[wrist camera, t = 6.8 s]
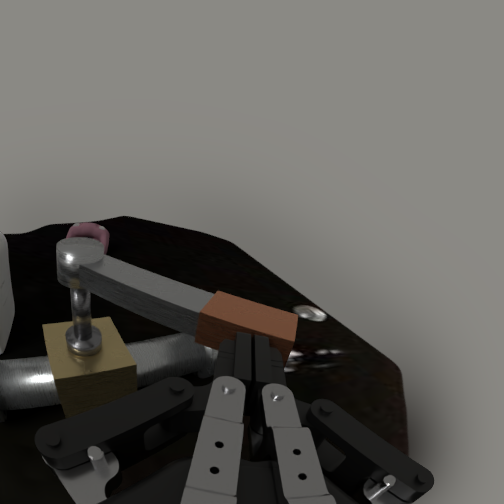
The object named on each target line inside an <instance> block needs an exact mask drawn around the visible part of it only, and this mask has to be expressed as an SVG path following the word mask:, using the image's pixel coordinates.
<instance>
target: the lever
mask: <svg viewBox="0 0 504 504" xmlns="http://www.w3.org/2000/svg"><path fill="white" fill-rule="evenodd" d="M57 279H58V281H59V282H60V283H61V284H62V285H64V286H66V287H69V288H74V289H86V290H88V291H90V292H92V293H94V294H96V295H98V296H100V297H102V298H104V299H106V300H108V301H110V302H112V303H115V304H117V305H119V306H121V307H123V308H125V309H128V310H130V311H132V312H134V313H137V314H139V315H141V316H143V317H146V318H148V319H151V320H153V321H155V322H158V323H160V324H163V325H165V326H167V327H170V328H172V329H175V330H178V331H180V332H183V333H185V334H188V335H191V336H193V337H195V343H198V344H200V345H203V346H206V347H209V348H212V349H214V350H217V351H218V350H219V346H220V343H221V342H222V341H223V340H224V339H229V340H235V335H236V332H237V331H238V332H243V333H248V334H251V342H252V339H253V336H254V335H260V336H265V337H268V338H269V346H270V347H274V348H277V349H278V350H279V352H280V353H281V354H282V360H283V366H284V367H285V365H286V362H287V360H288V357H289V355H290V352H291V349H292V347H293V344H294V341H295V334H296V327H297V320H298V315H296V314H293V313H289V312H286V311H282V310H279V309H275V308H272V307H269V306H265V305H262V304H259V303H255V302H252V301H249V300H246V299H243V298H239V297H236V296H233V295H230V294H227V293H224V292H220V291H217V292H216V293H215V294H212V293H209V292H206V291H203V290H200V289H197V288H194V287H192V286H189V285H186V284H183V283H180V282H177V281H174V280H171V279H169V278H166V277H163V276H160V275H157V274H155V273H152V272H149V271H146V270H144V269H141V268H138V267H136V266H133V265H130V264H128V263H125V262H123V261H120V260H117V259H115V258H112V257H110V256H107V255H105V254H104V245H103V244H102V243H101V242H99V241H97V240H95V239H91V238H84V237H73V238H67V239H63V240H61V241H59V242H58V243H57ZM284 367H283V368H284Z"/></svg>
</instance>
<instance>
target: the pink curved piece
mask: <svg viewBox="0 0 504 504" xmlns="http://www.w3.org/2000/svg"><path fill="white" fill-rule="evenodd" d="M73 237H92V238H93V239H95V240H97V241H99V242H101V243H102V244H103V245H104V254H105V255H106V253H107V249H108V244H109V233H108V231H107V230H106V229H105V228H104V227H103V226H100V225H97V224H94V223H86V222H84V223H77V224H74V225H73V226H72V227H71V228H70V229H69V232H68V234H67V237H66V239H67V238H73Z"/></svg>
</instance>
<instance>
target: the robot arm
mask: <svg viewBox="0 0 504 504" xmlns="http://www.w3.org/2000/svg"><path fill="white" fill-rule="evenodd" d="M283 367H284V366H283V360H282V354H281V353H280V352H279V350H278V349H277V348H274V347H270V346H269V338H268V337H265V336H260V335H254V336H253V339H252V342H251V334H248V333H243V332H238V331H237V332H236V335H235V340H229V339H224V340H223V341H222V342H221V343H220V346H219V350H218V355H217V360H216V364H215V370H214V376H213V381H212V382H211V383H210V384H208V385H205V386H199V387H193V385H192V384H191V383H190V382H189V381H188V380H186V379H183V378H180V377H168V378H166V379H163V380H161V381H159V382H157V383H154V384H152V385H150V386H148V387H145V388H143V389H141V390H138V391H136V392H134V393H131V394H129V395H127V396H124V397H122V398H119V399H117V400H114V401H112V402H109V403H107V404H104V405H102V406H99V407H97V408H94V409H91V410H89V411H86V412H83V413H81V414H78V415H75V416H72V417H69V418H67V419H64V420H61V421H58V422H55V423H52V424H49V425H46V426H43V427H41V428H40V429H39V430H38V431H37V433H36V435H35V444H36V446H37V448H38V450H39V451H40V453H41V455H42V457H43V459H44V461H45V462H46V464H47V465H48V467H49V468H50V469H51V471H52V472H53V474H54V475H55V476H56V477H57V478H58V479H59V480H60V482H61V483H62V484H63V485H64V486H65V488H66V489H67V491H68V492H69V494H70V495H71V497H72V498H73V500H74V501H75V503H76V504H412V503H413V502H414V501H416V500H417V499H419V498H420V497H421V496H422V495H424V494H425V493H426V492H428V491H429V490H430V489H431V488H432V487H433V484H434V477H433V475H432V473H431V472H430V471H429V470H428V469H426V468H425V467H423V466H421V465H420V464H418V463H417V462H415V461H414V460H412V459H411V458H409V457H408V456H406V455H405V454H403V453H402V452H400V451H399V450H398V449H396V448H395V447H393V446H392V445H390V444H389V443H388V442H386V441H385V440H383V439H382V438H380V437H379V436H378V435H376V434H375V433H374V432H372V431H371V430H369V429H368V428H367V427H365V426H364V425H363V424H361V423H360V422H359V421H357V420H356V419H355V418H353V417H352V416H351V415H349V414H348V413H347V412H345V411H344V410H343V409H341V408H340V407H339V406H338V405H336V404H335V403H334V402H332V401H329V400H326V399H318V400H315V401H314V402H313V403H312V404H308V403H305V402H302V401H299V400H297V399H295V398H294V396H293V393H292V392H291V390H290V389H288V388H287V386H286V379H285V373H284V368H283ZM243 409H244V415H246V416H250V423H249V426H248V439H249V451H250V461H247V460H243V459H240V455H241V447H242V438H243V428H244V423H242V417H243ZM188 432H199V436H198V439H197V443H196V447H195V451H194V455H193V456H191V457H184V458H180V459H177V460H175V461H172V462H170V463H169V464H167V465H165V466H164V467H162V468H161V469H159V470H157V471H156V472H154V473H153V474H151V475H149V476H148V477H146V478H144V479H142V480H141V481H139V482H137V483H135V484H134V485H132V486H130V487H128V488H126V489H125V490H123V491H121V492H119V493H117V494H115V495H113V496H111V497H110V495H111V493H112V492H113V490H115V489H116V488H117V487H119V486H120V484H121V483H122V473H121V471H122V470H124V469H126V468H128V467H130V466H132V465H134V464H136V463H138V462H140V461H142V460H144V459H146V458H147V457H149V456H151V455H153V454H155V453H157V452H158V451H160V450H162V449H164V448H165V447H167V446H169V445H170V444H172V443H174V442H176V441H177V440H179V439H181V438H182V437H184V436H185V435H186V434H187V433H188ZM326 437H327V438H329V439H330V440H331V441H332V442H333V443H335V444H336V445H337V446H338V447H340V448H341V449H342V450H343V451H344V452H345V454H346V456H345V455H343V454H342V453H341V452H339V451H338V450H337V449H336V448H335V447H333V446H332V445H331V444H330V443H328V442H327V441H326V440H325V438H326Z"/></svg>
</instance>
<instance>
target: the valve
mask: <svg viewBox="0 0 504 504" xmlns="http://www.w3.org/2000/svg"><path fill="white" fill-rule="evenodd" d="M70 292H71V307H72V319H73V321H71V322H62V323H53V324H43V331H44V337H45V343H46V348H47V353H48V356H41V357H32V358H22V359H11V360H0V422H6V420H7V412H6V410H17V409H26V408H35V407H43V406H50V405H56V404H61V405H62V408H63V411H64V414H65V416H66V419H67V418H69V417H72V416H75V415H78V414H81V413H83V412H86V411H89V410H91V409H94V408H97V407H99V406H102V405H104V404H107V403H109V402H112V401H114V400H117V399H119V398H122V397H124V396H127V395H129V394H131V393H134V392H136V391H137V388H139V387H143V386H147V385H151V384H154V383H157V382H159V381H161V380H163V379H166V378H168V377H179V376H183V375H186V374H189V373H193V374H194V375H195V376H197V377H199V378H207V377H210V376H213V375H214V370H215V364H216V360H217V355H218V351H217V350H214V349H212V348H209V347H206V346H203V345H200V344H198V343H195V337H193V336H191V335H188V334H185V333H183V332H180V333H178V334H173V335H169V336H164V337H159V338H154V339H149V340H144V341H139V342H133V343H128V344H124V342H123V340H122V339H121V337H120V335H119V333H118V331H117V330H116V328H115V326H114V324H113V322H112V320H111V318H110V317H105V318H97V319H91V301H90V291H88V290H86V289H74V288H70Z"/></svg>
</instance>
